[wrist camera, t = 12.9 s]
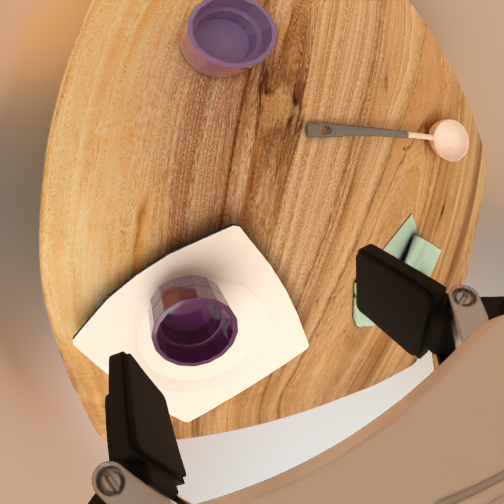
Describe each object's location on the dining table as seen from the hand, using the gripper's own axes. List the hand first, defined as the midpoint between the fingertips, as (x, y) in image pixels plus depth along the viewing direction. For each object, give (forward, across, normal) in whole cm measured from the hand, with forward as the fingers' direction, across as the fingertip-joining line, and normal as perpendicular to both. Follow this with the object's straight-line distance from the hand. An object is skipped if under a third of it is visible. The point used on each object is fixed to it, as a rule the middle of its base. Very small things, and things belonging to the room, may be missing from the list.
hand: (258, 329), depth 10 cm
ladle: (+15, -26, -2) cm, 31 cm away
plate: (+15, +3, +12) cm, 20 cm away
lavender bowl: (+15, -6, -14) cm, 22 cm away
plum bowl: (+13, +3, +7) cm, 15 cm away
